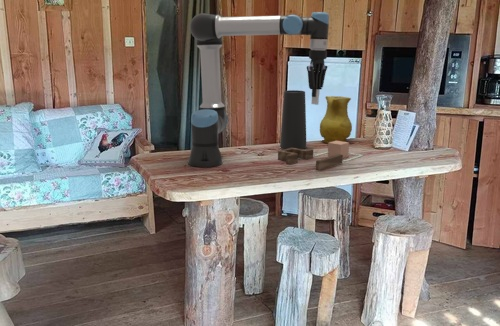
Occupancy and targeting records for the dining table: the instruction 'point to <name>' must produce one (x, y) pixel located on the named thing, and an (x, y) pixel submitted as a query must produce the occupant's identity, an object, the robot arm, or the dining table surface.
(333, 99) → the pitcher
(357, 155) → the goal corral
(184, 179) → the dining table surface
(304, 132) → the tapered dark column
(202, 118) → the robot arm
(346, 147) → the block
